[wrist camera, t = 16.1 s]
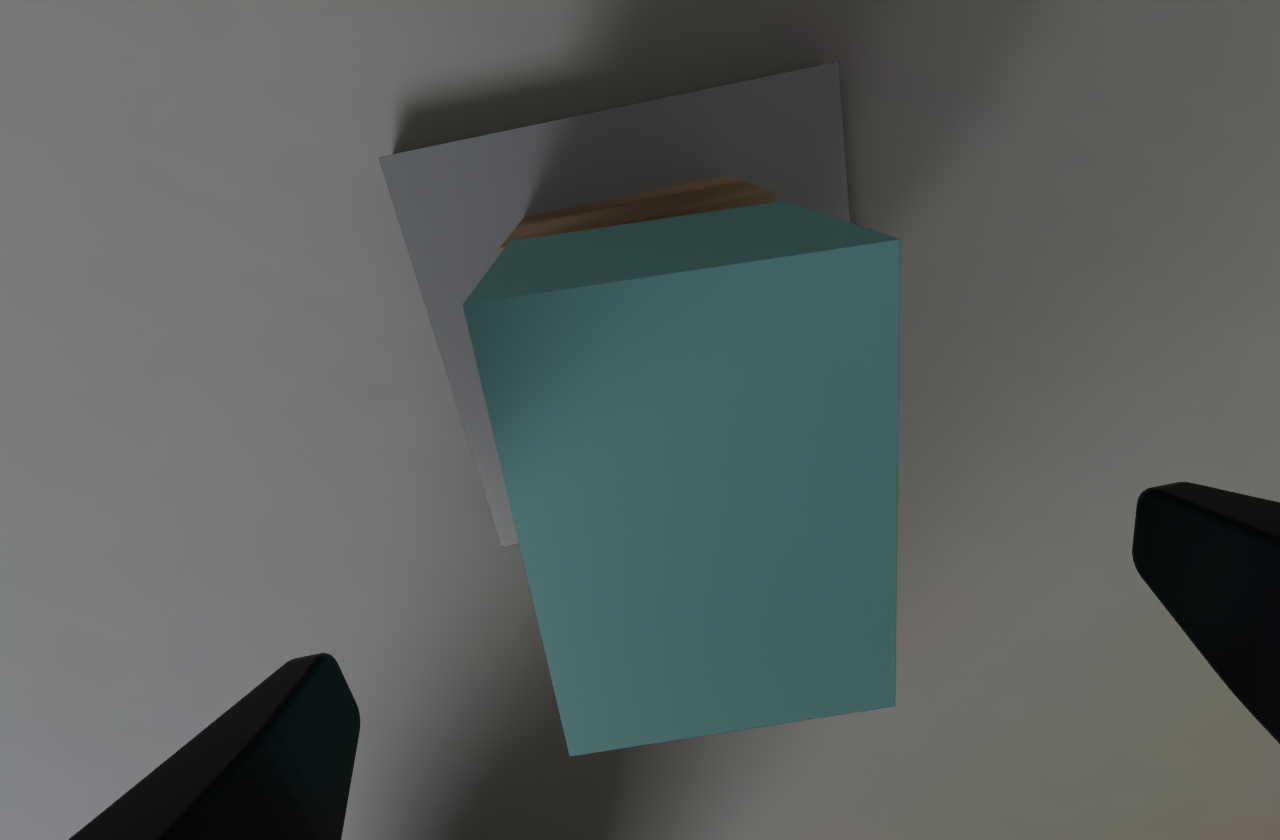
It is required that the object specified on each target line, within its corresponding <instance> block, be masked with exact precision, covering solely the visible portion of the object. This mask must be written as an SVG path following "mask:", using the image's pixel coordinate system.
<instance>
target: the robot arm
mask: <svg viewBox="0 0 1280 840" xmlns="http://www.w3.org/2000/svg"><path fill="white" fill-rule="evenodd" d="M1132 555H1133V561H1134V564H1135V567H1136V569H1137V571H1138V573H1139V574H1140V576H1141V577H1142V579H1143V580H1144V581H1145V582H1146V584H1147V585H1148V586H1149V587H1150V589H1151V590H1152V591H1153V593H1154V594H1155V595H1156V596H1157V598H1158V599H1159V600H1160V601H1161V603H1162V604H1163V605H1164V607H1165V608H1166V609H1167V610H1168V612H1169V613H1170V614H1171V616H1172V617H1173V618H1174V619H1175V621H1176V622H1177V623H1178V624H1179V626H1180V627H1181V628H1182V630H1183V631H1184V632H1185V633H1186V635H1187V636H1188V637H1189V639H1190V640H1191V641H1192V642H1193V644H1194V645H1195V646H1196V647H1197V649H1198V650H1199V651H1200V653H1201V654H1202V655H1203V656H1204V658H1205V659H1206V660H1207V661H1208V663H1209V664H1210V665H1211V667H1212V668H1213V669H1214V670H1215V672H1216V673H1217V674H1218V675H1219V677H1220V678H1221V679H1222V680H1223V681H1224V683H1225V684H1226V685H1227V686H1228V688H1229V689H1230V690H1231V691H1232V692H1233V694H1234V695H1235V696H1236V697H1237V698H1238V699H1239V700H1240V702H1241V703H1242V704H1243V705H1244V706H1245V707H1246V708H1247V709H1248V710H1249V712H1250V713H1251V714H1252V715H1253V716H1254V717H1255V718H1256V719H1257V720H1258V721H1259V722H1260V723H1261V724H1262V726H1263V727H1264V728H1265V729H1266V730H1267V731H1268V732H1269V733H1270V734H1271V735H1272V736H1273V737H1274V738H1275V739H1276V740H1277V741H1278V743H1279V744H1280V503H1279V502H1275V501H1270V500H1266V499H1261V498H1257V497H1252V496H1248V495H1243V494H1239V493H1234V492H1230V491H1225V490H1221V489H1217V488H1212V487H1208V486H1203V485H1199V484H1194V483H1189V482H1177V483H1172V484H1167V485H1162V486H1157V487H1152V488H1148V489H1146V490H1145V491H1143V492H1142V493H1141V494H1140V496H1139V498H1138V501H1137V508H1136V518H1135V528H1134V537H1133V547H1132ZM359 731H360V714H359V710H358V706H357V704H356V701H355V699H354V697H353V695H352V693H351V691H350V689H349V686H348V684H347V682H346V680H345V678H344V676H343V674H342V671H341V669H340V667H339V665H338V663H337V661H336V660H335V658H334V657H333V656H332V655H330V654H327V653H320V654H315V655H310V656H305V657H300V658H295V659H292V660H290V661H288V662H287V663H285V664H284V665H283V666H282V667H280V668H279V669H278V670H277V671H276V672H274V673H273V674H272V675H271V676H269V677H268V678H267V679H266V680H264V681H263V682H262V683H261V684H260V685H258V686H257V687H256V688H255V689H253V690H252V691H251V692H250V693H248V694H247V695H246V696H245V697H244V698H242V699H241V700H240V701H239V702H237V703H236V704H235V705H234V706H232V707H231V708H230V709H229V710H228V711H226V712H225V713H224V714H223V715H221V716H220V717H219V718H218V719H216V720H215V721H214V722H213V723H212V724H210V725H209V726H208V727H207V728H205V729H204V730H203V731H202V732H200V733H199V734H198V735H197V736H196V737H194V738H193V739H192V740H191V741H189V742H188V743H187V744H186V745H184V746H183V747H182V748H181V749H180V750H178V751H177V752H176V753H175V754H173V755H172V756H171V757H170V758H168V759H167V760H166V761H165V762H164V763H162V764H161V765H160V766H159V767H157V768H156V769H155V770H154V771H152V772H151V773H150V774H149V775H148V776H146V777H145V778H144V779H143V780H141V781H140V782H139V783H138V784H136V785H135V786H134V787H133V788H132V789H130V790H129V791H128V792H127V793H125V794H124V795H123V796H122V797H120V798H119V799H118V800H117V801H115V802H114V803H113V804H112V805H111V806H109V807H108V808H107V809H106V810H104V811H103V812H102V813H101V814H99V815H98V816H97V817H96V818H95V819H93V820H92V821H91V822H90V823H88V824H87V825H86V826H85V827H83V828H82V829H81V830H80V831H79V832H77V833H76V834H75V835H74V836H72V837H71V838H70V839H69V840H341V837H342V831H343V825H344V819H345V814H346V808H347V802H348V796H349V790H350V784H351V778H352V773H353V767H354V761H355V755H356V749H357V743H358V737H359Z"/></svg>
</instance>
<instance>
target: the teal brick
mask: <svg viewBox="0 0 1280 840" xmlns="http://www.w3.org/2000/svg"><path fill="white" fill-rule="evenodd" d="M899 282H900V239H897V238H894V237H891V236H888V235H885V234H882V233H879V232H876V231H873V230H871V229H868V228H865V227H862V226H859V225H856V224H853V223H850V222H847V221H844V220H841V219H839V218H836V217H833V216H830V215H827V214H824V213H821V212H818V211H815V210H812V209H809V208H807V207H804V206H801V205H798V204H795V203H792V202H789V201H786V200H785V201H778V202H771V203H764V204H758V205H751V206H744V207H737V208H731V209H724V210H717V211H710V212H704V213H697V214H690V215H683V216H677V217H670V218H663V219H656V220H649V221H643V222H636V223H629V224H622V225H616V226H609V227H602V228H595V229H589V230H582V231H575V232H568V233H561V234H555V235H548V236H541V237H534V238H528V239H521V240H514V241H509V243H508V244H507V245H506V247H505V248H504V250H503V251H502V252H501V254H500V255H499V256H498V258H497V259H496V260H495V262H494V263H493V264H492V266H491V267H490V268H489V270H488V271H487V272H486V274H485V275H484V276H483V278H482V279H481V280H480V282H479V283H478V284H477V286H476V287H475V288H474V290H473V291H472V292H471V294H470V295H469V297H468V298H467V299H466V301H465V302H464V303H463V309H464V313H465V317H466V321H467V326H468V330H469V334H470V338H471V343H472V347H473V351H474V355H475V359H476V364H477V368H478V372H479V376H480V380H481V385H482V389H483V393H484V397H485V402H486V406H487V410H488V414H489V418H490V423H491V427H492V431H493V435H494V439H495V444H496V448H497V452H498V456H499V461H500V465H501V469H502V473H503V477H504V482H505V486H506V490H507V494H508V498H509V503H510V507H511V511H512V515H513V520H514V524H515V528H516V532H517V536H518V541H519V545H520V549H521V553H522V558H523V562H524V566H525V570H526V574H527V579H528V583H529V587H530V591H531V595H532V600H533V604H534V608H535V612H536V617H537V621H538V625H539V629H540V633H541V638H542V642H543V646H544V650H545V654H546V659H547V663H548V667H549V671H550V676H551V680H552V684H553V688H554V692H555V697H556V701H557V705H558V709H559V713H560V718H561V722H562V726H563V730H564V735H565V739H566V743H567V747H568V751H569V756H577V755H583V754H590V753H596V752H603V751H609V750H616V749H622V748H628V747H635V746H641V745H648V744H654V743H661V742H667V741H674V740H680V739H687V738H693V737H699V736H706V735H712V734H719V733H725V732H732V731H738V730H745V729H751V728H758V727H764V726H770V725H777V724H783V723H790V722H796V721H803V720H809V719H816V718H822V717H829V716H835V715H841V714H848V713H854V712H861V711H867V710H874V709H880V708H887V707H893V706H895V697H896V593H897V490H898V386H899Z"/></svg>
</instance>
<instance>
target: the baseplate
mask: <svg viewBox="0 0 1280 840" xmlns="http://www.w3.org/2000/svg"><path fill="white" fill-rule="evenodd" d="M378 158H379V161H380V164H381V167H382V170H383V173H384V177H385V180H386V183H387V186H388V189H389V192H390V196H391V199H392V202H393V205H394V208H395V211H396V214H397V218H398V221H399V224H400V227H401V230H402V233H403V237H404V240H405V243H406V246H407V249H408V252H409V255H410V259H411V262H412V265H413V268H414V271H415V274H416V278H417V281H418V284H419V287H420V290H421V293H422V296H423V300H424V303H425V306H426V309H427V312H428V315H429V319H430V322H431V325H432V328H433V331H434V334H435V337H436V341H437V344H438V347H439V350H440V353H441V356H442V360H443V363H444V366H445V369H446V372H447V375H448V378H449V382H450V385H451V388H452V391H453V394H454V397H455V401H456V404H457V407H458V410H459V413H460V416H461V419H462V423H463V426H464V429H465V432H466V435H467V438H468V442H469V445H470V448H471V451H472V454H473V457H474V460H475V464H476V467H477V470H478V473H479V476H480V479H481V483H482V486H483V489H484V492H485V495H486V498H487V501H488V505H489V508H490V511H491V514H492V517H493V520H494V524H495V527H496V530H497V533H498V536H499V539H500V542H501V546H502V547H506V546H511V545H516V544H519V541H518V536H517V532H516V528H515V524H514V520H513V515H512V511H511V507H510V503H509V498H508V494H507V490H506V486H505V482H504V477H503V473H502V469H501V465H500V461H499V456H498V452H497V448H496V444H495V439H494V435H493V431H492V427H491V423H490V418H489V414H488V410H487V406H486V402H485V397H484V393H483V389H482V385H481V380H480V376H479V372H478V368H477V364H476V359H475V355H474V351H473V347H472V343H471V338H470V334H469V330H468V326H467V321H466V317H465V313H464V309H463V303H464V302H465V301H466V299H467V298H468V297H469V295H470V294H471V292H472V291H473V290H474V288H475V287H476V286H477V284H478V283H479V282H480V280H481V279H482V278H483V276H484V275H485V274H486V272H487V271H488V270H489V268H490V267H491V266H492V264H493V263H494V262H495V260H496V259H497V258H498V256H499V255H500V254H501V253H500V249H499V248H500V247H501V245H502V244H503V243H504V242H505V240H506V239H507V238H508V237H509V235H510V234H511V233H512V232H513V230H514V229H515V228H516V226H517V225H518V224H519V223H520V221H521V220H522V219H523V218H524V217H527V216H532V215H537V214H542V213H546V212H551V211H556V210H561V209H566V208H570V207H575V206H580V205H585V204H590V203H594V202H599V201H604V200H609V199H614V198H618V197H623V196H628V195H633V194H638V193H643V192H647V191H652V190H657V189H662V188H667V187H671V186H676V185H681V184H686V183H691V182H695V181H700V180H705V179H710V178H715V177H719V176H727V177H730V178H733V179H736V180H739V181H742V182H745V183H749V184H752V185H755V186H758V187H761V188H764V189H768V190H771V191H773V194H774V202H778V201H785V200H786V201H789V202H792V203H795V204H798V205H801V206H804V207H807V208H809V209H812V210H815V211H818V212H821V213H824V214H827V215H830V216H833V217H836V218H839V219H841V220H844V221H847V222H850V214H849V200H848V186H847V172H846V158H845V144H844V130H843V115H842V101H841V87H840V73H839V61H838V62H833V63H828V64H823V65H818V66H814V67H809V68H804V69H799V70H794V71H790V72H785V73H780V74H775V75H770V76H766V77H761V78H756V79H751V80H746V81H742V82H737V83H732V84H727V85H722V86H718V87H713V88H708V89H703V90H698V91H694V92H689V93H684V94H679V95H674V96H670V97H665V98H660V99H655V100H650V101H646V102H641V103H636V104H631V105H626V106H622V107H617V108H612V109H607V110H603V111H598V112H593V113H588V114H583V115H579V116H574V117H569V118H564V119H559V120H555V121H550V122H545V123H540V124H535V125H531V126H526V127H521V128H516V129H511V130H507V131H502V132H497V133H492V134H487V135H483V136H478V137H473V138H468V139H463V140H459V141H454V142H449V143H444V144H439V145H435V146H430V147H425V148H420V149H415V150H411V151H406V152H401V153H396V154H391V155H387V156H382V157H378Z"/></svg>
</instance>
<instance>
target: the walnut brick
mask: <svg viewBox="0 0 1280 840" xmlns="http://www.w3.org/2000/svg"><path fill="white" fill-rule="evenodd" d="M771 202H774V194H773V191H771V190H768V189H764V188H761V187H758V186H755V185H752V184H749V183H745V182H742V181H739V180H736V179H733V178H730V177H727V176H719V177H715V178H710V179H705V180H700V181H695V182H691V183H686V184H681V185H676V186H671V187H667V188H662V189H657V190H652V191H647V192H643V193H638V194H633V195H628V196H623V197H618V198H614V199H609V200H604V201H599V202H594V203H590V204H585V205H580V206H575V207H570V208H566V209H561V210H556V211H551V212H546V213H542V214H537V215H532V216H527V217H524V218H523V219H522V220H521V221H520V223H519V224H518V225H517V226H516V228H515V229H514V230H513V232H512V233H511V234H510V235H509V237H508V238H507V239H506V240H505V242H504V243H503V244H502V245H501V247H500V248H499V249H500V253H501V252H502V251H503V250H504V248H505V247H506V245H507V244H508V243H509V241H514V240H521V239H528V238H534V237H541V236H548V235H555V234H561V233H568V232H575V231H582V230H589V229H595V228H602V227H609V226H616V225H622V224H629V223H636V222H643V221H649V220H656V219H663V218H670V217H677V216H683V215H690V214H697V213H704V212H710V211H717V210H724V209H731V208H737V207H744V206H751V205H758V204H764V203H771Z"/></svg>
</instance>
